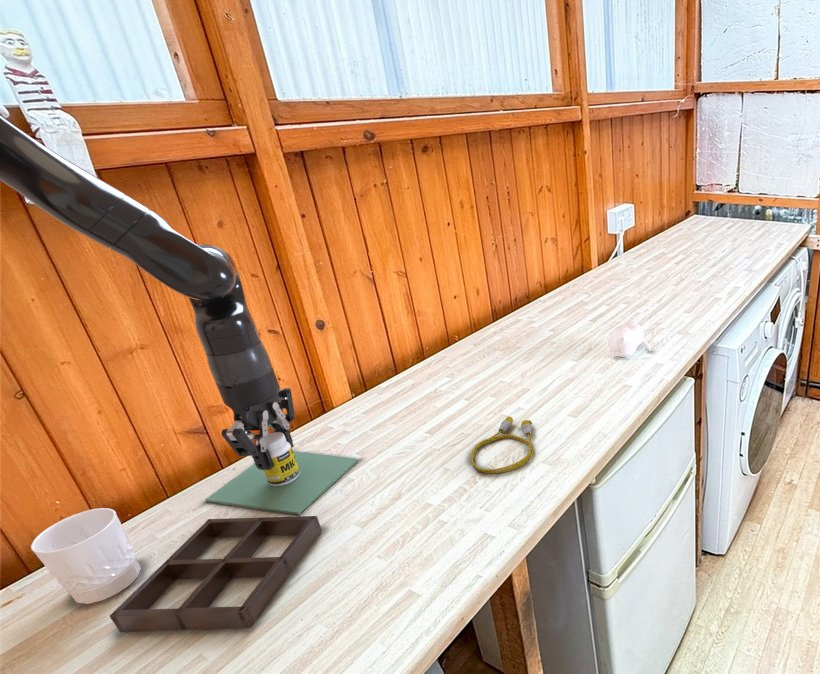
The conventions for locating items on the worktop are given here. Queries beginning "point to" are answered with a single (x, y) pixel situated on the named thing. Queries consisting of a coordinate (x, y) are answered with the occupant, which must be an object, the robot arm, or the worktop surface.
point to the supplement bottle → (280, 460)
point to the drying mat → (286, 498)
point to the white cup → (88, 555)
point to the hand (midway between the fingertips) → (277, 458)
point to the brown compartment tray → (219, 575)
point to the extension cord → (503, 427)
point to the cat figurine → (626, 340)
